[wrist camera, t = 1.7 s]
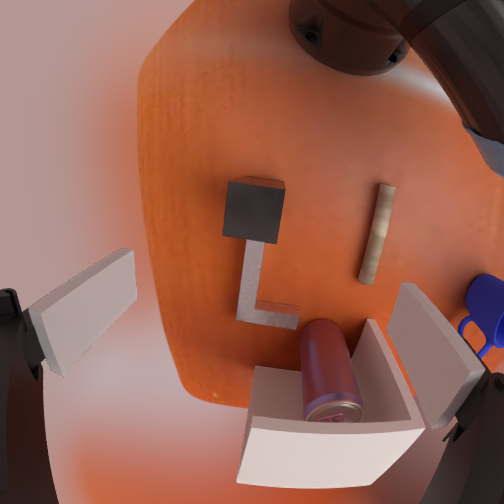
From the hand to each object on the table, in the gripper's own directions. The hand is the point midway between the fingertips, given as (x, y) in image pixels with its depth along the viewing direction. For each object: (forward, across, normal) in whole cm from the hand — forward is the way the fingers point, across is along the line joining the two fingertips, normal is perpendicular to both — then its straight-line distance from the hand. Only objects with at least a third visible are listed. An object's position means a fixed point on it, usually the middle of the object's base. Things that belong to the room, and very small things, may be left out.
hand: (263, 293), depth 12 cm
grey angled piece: (+20, 0, -5) cm, 20 cm away
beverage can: (+20, +8, -16) cm, 27 cm away
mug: (+20, +32, -9) cm, 39 cm away
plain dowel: (+18, +12, -1) cm, 22 cm away
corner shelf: (+20, +7, -18) cm, 28 cm away
